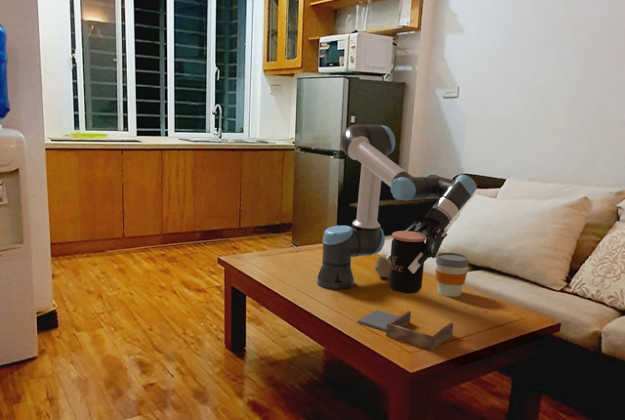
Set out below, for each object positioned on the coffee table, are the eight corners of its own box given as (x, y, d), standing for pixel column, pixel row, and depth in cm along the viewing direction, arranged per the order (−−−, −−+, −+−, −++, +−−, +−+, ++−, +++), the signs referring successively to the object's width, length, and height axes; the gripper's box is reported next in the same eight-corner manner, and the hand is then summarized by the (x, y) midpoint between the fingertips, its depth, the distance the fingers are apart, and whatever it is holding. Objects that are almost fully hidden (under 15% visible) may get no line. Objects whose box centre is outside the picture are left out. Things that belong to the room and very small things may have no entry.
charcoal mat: (357, 322, 178) (357, 320, 178) (376, 311, 189) (376, 309, 189) (389, 332, 171) (389, 330, 171) (407, 320, 182) (407, 318, 182)
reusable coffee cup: (464, 300, 204) (467, 262, 202) (431, 295, 209) (434, 258, 206) (466, 290, 216) (470, 254, 213) (435, 285, 220) (438, 250, 217)
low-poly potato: (373, 281, 224) (397, 273, 218) (366, 256, 227) (390, 248, 222) (387, 282, 236) (411, 274, 231) (381, 259, 240) (404, 251, 234)
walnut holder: (386, 335, 169) (386, 324, 168) (407, 322, 181) (408, 310, 180) (433, 350, 160) (434, 338, 159) (452, 335, 171) (453, 323, 171)
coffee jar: (384, 282, 177) (388, 230, 174) (416, 283, 178) (420, 231, 175) (392, 294, 167) (396, 238, 163) (425, 294, 168) (430, 239, 164)
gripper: (472, 230, 166) (429, 283, 161) (423, 214, 186) (384, 262, 181) (461, 214, 162) (417, 269, 158) (412, 200, 182) (372, 248, 178)
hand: (399, 265), depth 169 cm, fingers closed on coffee jar, 11 cm apart
